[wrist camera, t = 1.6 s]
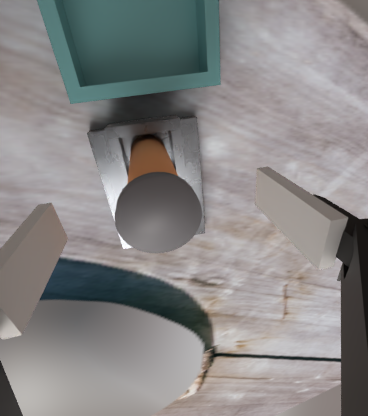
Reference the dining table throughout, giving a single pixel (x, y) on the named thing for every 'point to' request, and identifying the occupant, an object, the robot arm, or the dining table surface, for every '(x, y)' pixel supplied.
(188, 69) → the tray
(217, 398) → the dining table surface
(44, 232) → the robot arm
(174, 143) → the silver rectangular stand
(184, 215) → the pin
